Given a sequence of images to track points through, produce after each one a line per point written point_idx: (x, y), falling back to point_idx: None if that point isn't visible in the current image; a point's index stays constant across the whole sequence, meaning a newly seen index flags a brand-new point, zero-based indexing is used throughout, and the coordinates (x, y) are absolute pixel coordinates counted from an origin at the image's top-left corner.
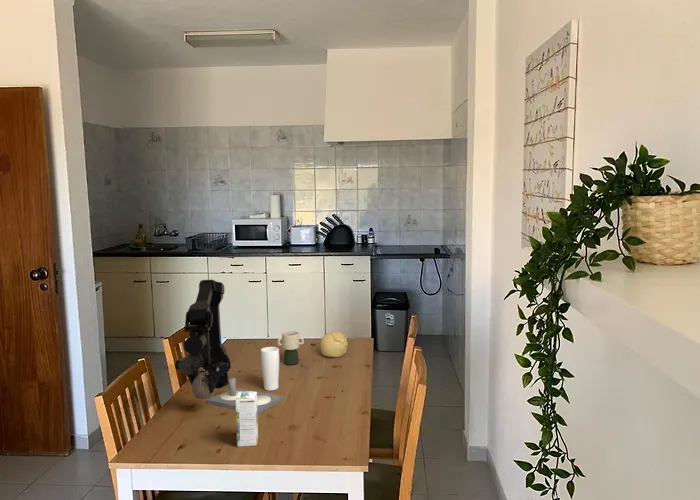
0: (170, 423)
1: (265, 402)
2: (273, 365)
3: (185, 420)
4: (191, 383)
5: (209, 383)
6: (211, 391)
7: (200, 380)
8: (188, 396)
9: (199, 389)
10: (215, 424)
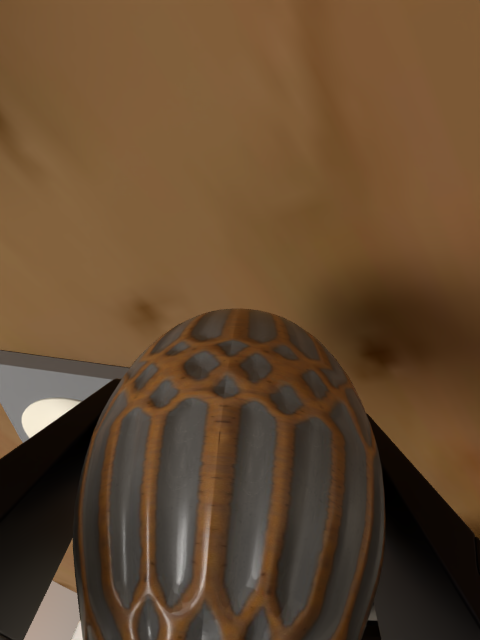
0: (424, 8)
1: (30, 426)
2: (76, 632)
3: (310, 138)
4: (416, 484)
5: (3, 490)
6: (99, 393)
7: (138, 557)
8: (452, 432)
9: (175, 364)
10: (50, 153)
